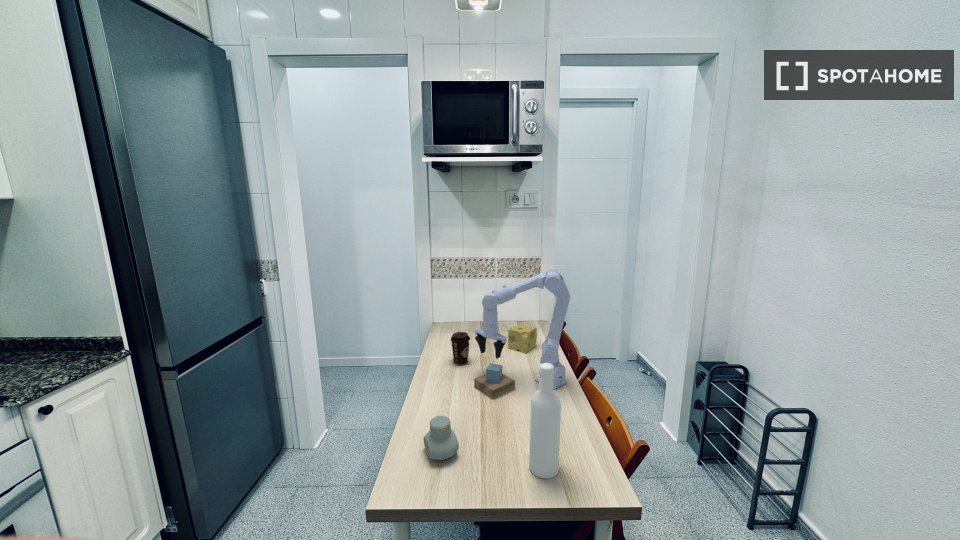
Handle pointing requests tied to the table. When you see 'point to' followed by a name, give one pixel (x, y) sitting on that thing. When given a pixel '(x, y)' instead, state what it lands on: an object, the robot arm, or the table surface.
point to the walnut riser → (494, 386)
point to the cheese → (522, 338)
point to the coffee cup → (460, 347)
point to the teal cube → (494, 373)
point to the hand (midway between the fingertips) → (490, 355)
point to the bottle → (545, 426)
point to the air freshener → (440, 439)
